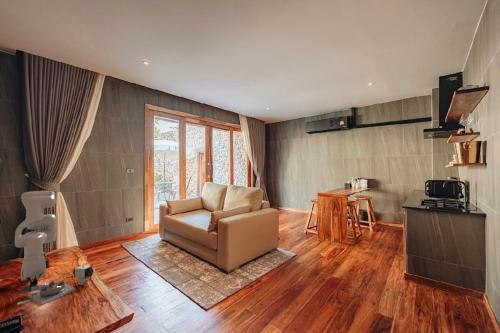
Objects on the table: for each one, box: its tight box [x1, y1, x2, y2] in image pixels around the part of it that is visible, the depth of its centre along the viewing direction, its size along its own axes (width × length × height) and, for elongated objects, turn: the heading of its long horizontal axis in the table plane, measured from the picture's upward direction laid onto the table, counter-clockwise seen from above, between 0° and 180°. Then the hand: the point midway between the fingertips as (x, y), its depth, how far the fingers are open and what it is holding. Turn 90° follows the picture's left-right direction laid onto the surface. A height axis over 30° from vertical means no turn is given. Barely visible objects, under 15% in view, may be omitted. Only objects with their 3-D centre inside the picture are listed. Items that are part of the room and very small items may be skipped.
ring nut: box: [20, 279, 66, 296], centre depth 129 cm, size 22×11×4 cm, turn 98°
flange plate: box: [16, 283, 76, 306], centre depth 127 cm, size 16×22×2 cm
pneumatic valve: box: [72, 264, 95, 286], centre depth 142 cm, size 6×12×12 cm, turn 78°
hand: (33, 286), depth 131 cm, fingers closed
